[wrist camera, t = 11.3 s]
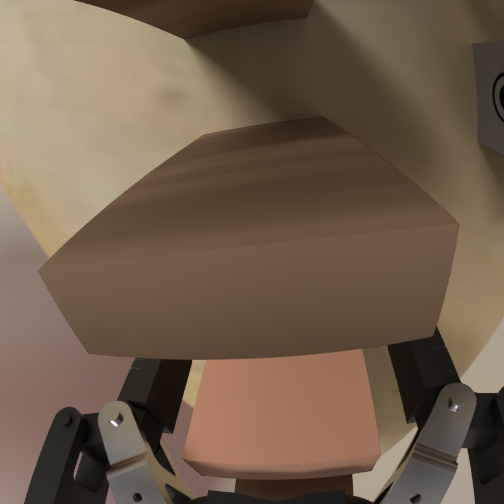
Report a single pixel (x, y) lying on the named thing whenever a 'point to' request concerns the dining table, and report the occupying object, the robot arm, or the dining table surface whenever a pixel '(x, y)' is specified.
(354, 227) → the domino
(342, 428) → the domino
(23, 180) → the dining table surface
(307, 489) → the domino
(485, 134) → the dice cube
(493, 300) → the dining table surface
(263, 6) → the domino
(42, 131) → the dining table surface
